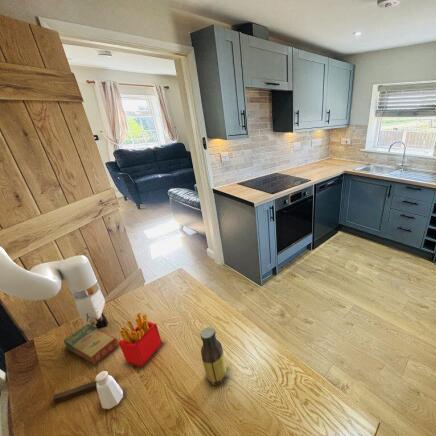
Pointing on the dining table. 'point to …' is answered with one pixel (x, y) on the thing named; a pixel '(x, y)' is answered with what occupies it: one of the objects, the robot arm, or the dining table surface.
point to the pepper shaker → (108, 390)
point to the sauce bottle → (213, 357)
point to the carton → (91, 343)
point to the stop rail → (75, 392)
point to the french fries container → (140, 341)
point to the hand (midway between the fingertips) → (102, 326)
